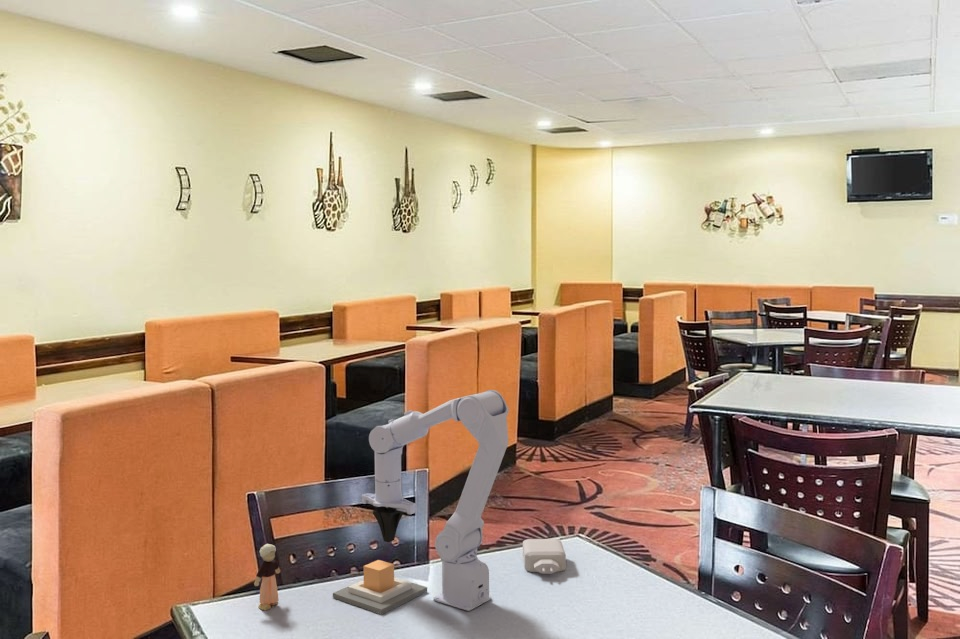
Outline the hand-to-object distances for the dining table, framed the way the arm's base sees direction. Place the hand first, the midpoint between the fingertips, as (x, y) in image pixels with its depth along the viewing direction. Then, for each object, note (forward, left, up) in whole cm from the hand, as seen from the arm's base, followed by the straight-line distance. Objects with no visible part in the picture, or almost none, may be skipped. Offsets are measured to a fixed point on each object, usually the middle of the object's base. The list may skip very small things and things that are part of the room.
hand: (389, 540), depth 175 cm
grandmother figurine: (+12, +23, -10) cm, 28 cm away
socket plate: (-3, +6, -9) cm, 12 cm away
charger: (-23, -27, -10) cm, 37 cm away
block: (-3, +6, -8) cm, 11 cm away
